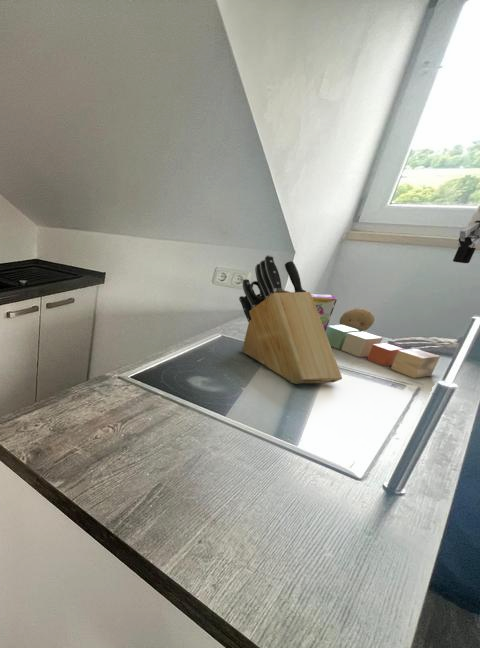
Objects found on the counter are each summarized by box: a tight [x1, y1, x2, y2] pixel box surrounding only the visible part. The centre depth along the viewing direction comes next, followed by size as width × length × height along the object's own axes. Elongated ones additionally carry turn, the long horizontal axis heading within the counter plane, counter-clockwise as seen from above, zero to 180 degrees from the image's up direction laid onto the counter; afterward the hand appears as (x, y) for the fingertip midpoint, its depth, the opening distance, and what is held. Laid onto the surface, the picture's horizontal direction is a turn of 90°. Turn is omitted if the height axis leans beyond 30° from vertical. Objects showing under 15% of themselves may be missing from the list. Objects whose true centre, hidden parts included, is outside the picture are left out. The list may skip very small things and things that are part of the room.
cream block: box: [340, 331, 383, 358], centre depth 124 cm, size 6×6×6 cm
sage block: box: [325, 324, 360, 350], centre depth 130 cm, size 6×6×6 cm
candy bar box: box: [311, 293, 338, 331], centre depth 131 cm, size 11×5×16 cm, turn 71°
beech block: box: [390, 347, 441, 379], centre depth 110 cm, size 6×6×6 cm
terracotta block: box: [366, 342, 405, 367], centre depth 117 cm, size 5×5×5 cm
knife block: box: [238, 254, 343, 385], centre depth 114 cm, size 11×35×31 cm, turn 2°
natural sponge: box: [339, 307, 375, 332], centre depth 137 cm, size 9×9×10 cm
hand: (475, 261), depth 104 cm, fingers open, 9 cm apart
